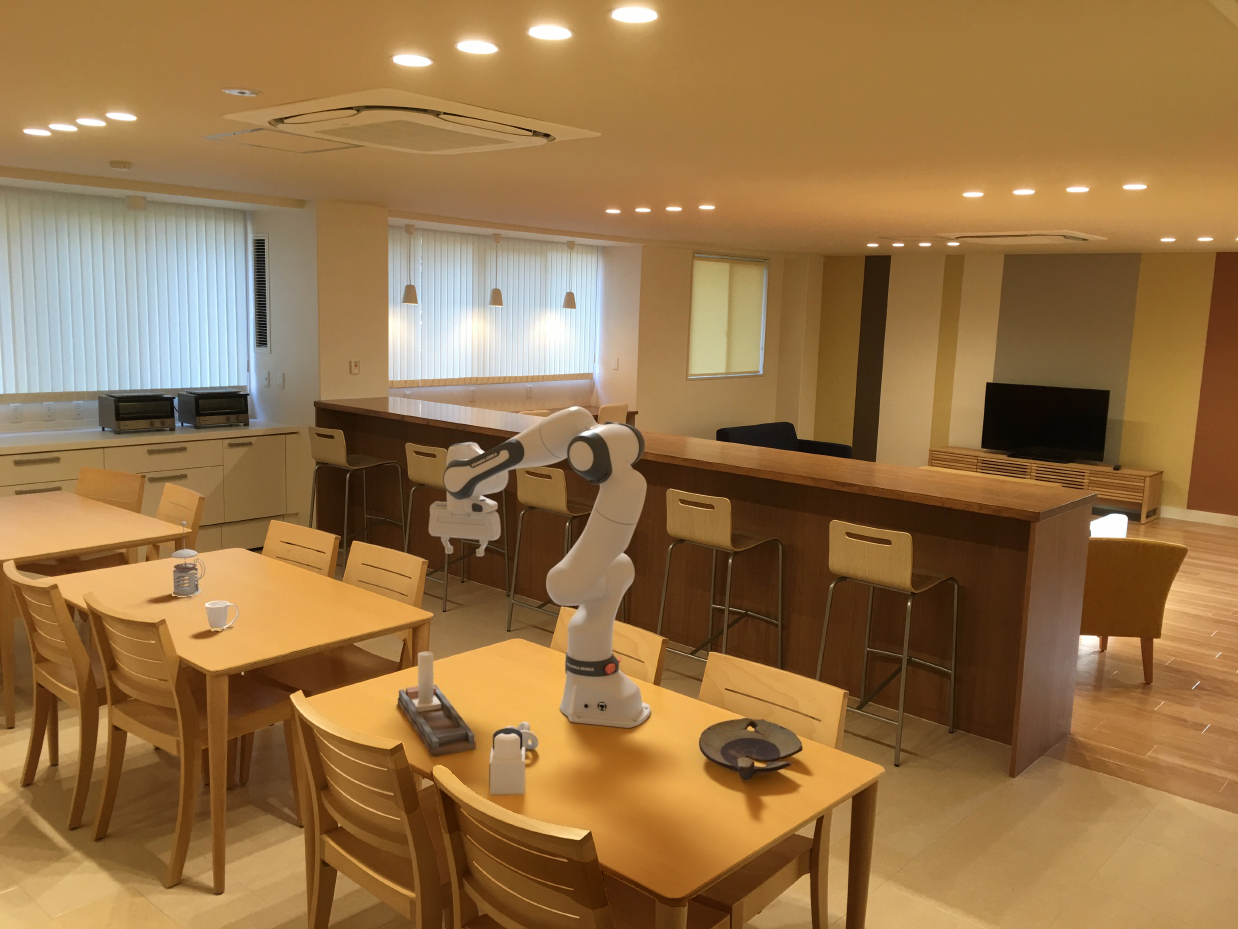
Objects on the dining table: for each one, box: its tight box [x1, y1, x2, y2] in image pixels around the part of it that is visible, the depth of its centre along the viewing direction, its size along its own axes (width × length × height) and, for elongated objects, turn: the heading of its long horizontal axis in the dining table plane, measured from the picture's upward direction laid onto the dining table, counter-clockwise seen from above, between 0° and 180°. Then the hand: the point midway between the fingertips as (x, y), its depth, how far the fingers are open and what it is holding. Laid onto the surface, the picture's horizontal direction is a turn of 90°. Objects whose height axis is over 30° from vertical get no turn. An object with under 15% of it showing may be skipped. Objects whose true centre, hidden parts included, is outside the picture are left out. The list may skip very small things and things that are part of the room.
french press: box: [171, 521, 206, 596], centre depth 326 cm, size 10×12×25 cm
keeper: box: [411, 650, 441, 712], centre depth 235 cm, size 6×6×13 cm
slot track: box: [397, 684, 477, 757], centre depth 228 cm, size 32×10×4 cm, turn 26°
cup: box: [204, 600, 240, 631], centre depth 293 cm, size 7×10×8 cm
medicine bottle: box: [488, 727, 526, 796], centre depth 199 cm, size 7×7×12 cm
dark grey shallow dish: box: [698, 717, 803, 782], centre depth 211 cm, size 22×30×8 cm
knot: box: [505, 721, 539, 751], centre depth 216 cm, size 8×8×6 cm
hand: (464, 554), depth 257 cm, fingers open, 8 cm apart
